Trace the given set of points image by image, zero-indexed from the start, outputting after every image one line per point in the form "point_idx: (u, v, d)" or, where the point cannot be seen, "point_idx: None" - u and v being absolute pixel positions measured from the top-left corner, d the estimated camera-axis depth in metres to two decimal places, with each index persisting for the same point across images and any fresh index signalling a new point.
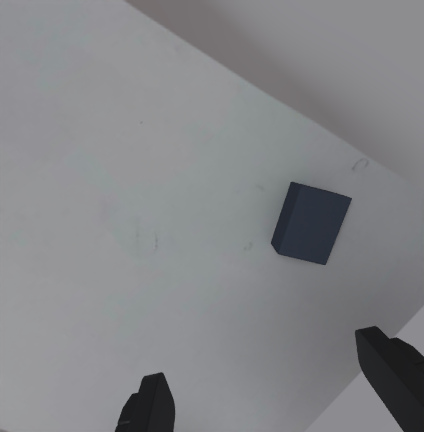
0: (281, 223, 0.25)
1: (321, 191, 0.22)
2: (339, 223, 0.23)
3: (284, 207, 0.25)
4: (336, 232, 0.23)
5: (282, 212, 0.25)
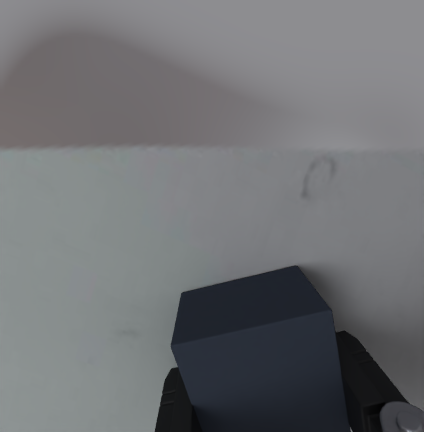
0: None
1: (233, 335, 0.07)
2: (334, 380, 0.08)
3: None
4: (339, 401, 0.08)
5: None
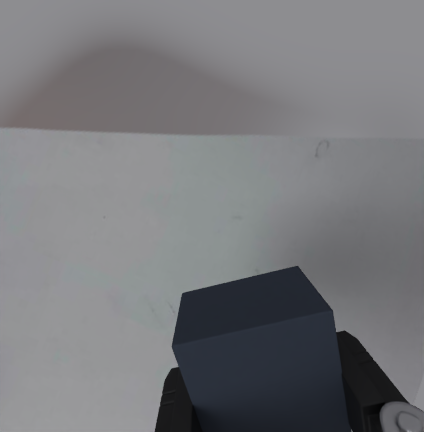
0: None
1: (234, 335, 0.07)
2: (335, 380, 0.08)
3: None
4: (340, 401, 0.08)
5: None
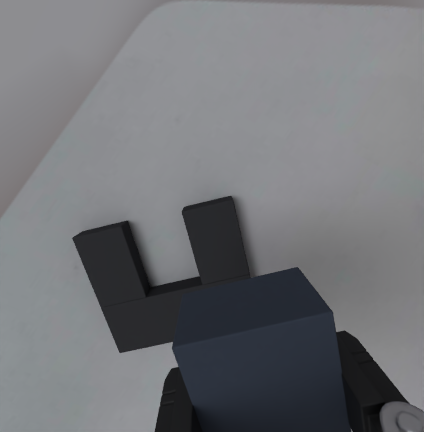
0: None
1: (235, 336, 0.07)
2: (335, 381, 0.08)
3: None
4: (340, 402, 0.08)
5: None
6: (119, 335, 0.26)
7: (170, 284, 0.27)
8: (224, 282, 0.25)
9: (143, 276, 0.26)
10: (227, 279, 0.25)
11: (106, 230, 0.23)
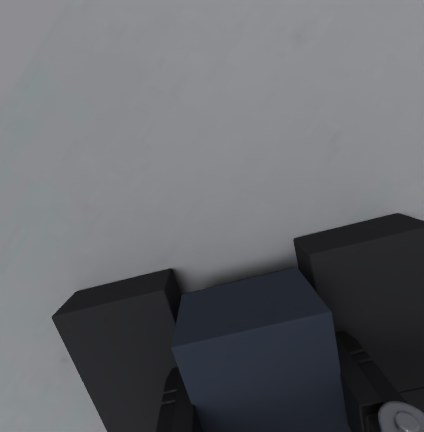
0: None
1: (234, 336, 0.07)
2: (334, 381, 0.08)
3: None
4: (339, 402, 0.08)
5: None
6: None
7: None
8: None
9: None
10: None
11: (130, 299, 0.10)
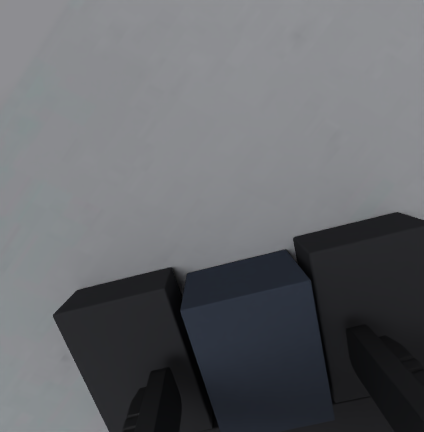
0: None
1: (231, 301, 0.09)
2: (314, 339, 0.10)
3: None
4: (319, 357, 0.10)
5: None
6: None
7: None
8: None
9: None
10: None
11: (131, 298, 0.10)
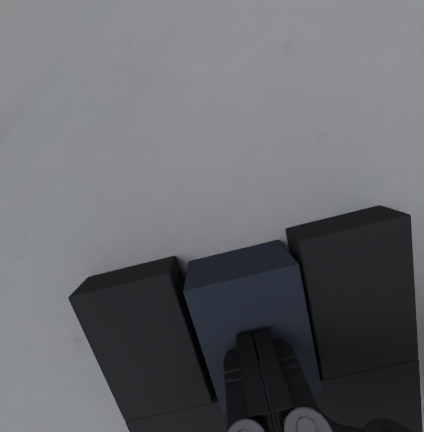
0: None
1: (228, 283, 0.10)
2: (302, 318, 0.11)
3: None
4: (307, 334, 0.11)
5: None
6: None
7: None
8: (366, 374, 0.13)
9: (204, 359, 0.14)
10: (372, 370, 0.13)
11: (138, 282, 0.11)
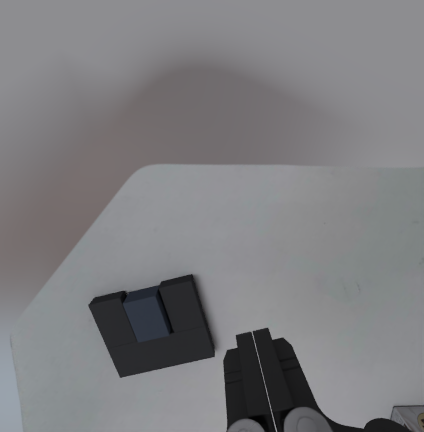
0: None
1: (135, 301, 0.35)
2: (158, 311, 0.36)
3: None
4: (161, 316, 0.36)
5: None
6: (120, 365, 0.39)
7: None
8: (188, 330, 0.38)
9: None
10: (190, 329, 0.38)
11: (110, 300, 0.36)
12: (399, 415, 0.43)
